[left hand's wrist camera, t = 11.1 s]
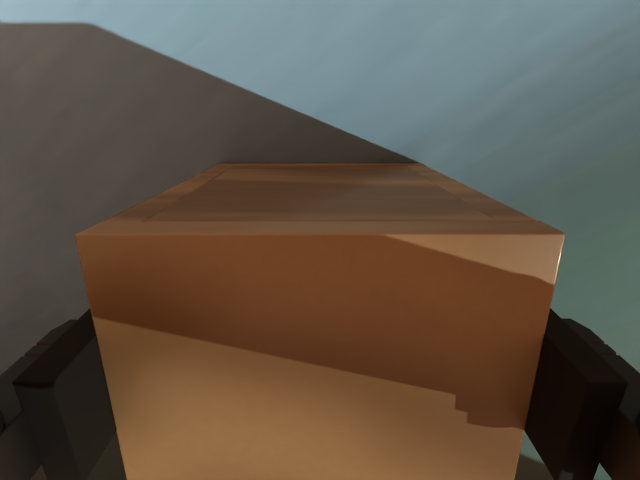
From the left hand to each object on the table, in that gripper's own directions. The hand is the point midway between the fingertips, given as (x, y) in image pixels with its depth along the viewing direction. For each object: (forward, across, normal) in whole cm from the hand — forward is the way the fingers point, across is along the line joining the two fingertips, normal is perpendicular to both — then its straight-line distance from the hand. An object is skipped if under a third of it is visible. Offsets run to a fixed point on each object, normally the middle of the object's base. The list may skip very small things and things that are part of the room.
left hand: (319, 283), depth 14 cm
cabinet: (+6, 0, -7) cm, 10 cm away
